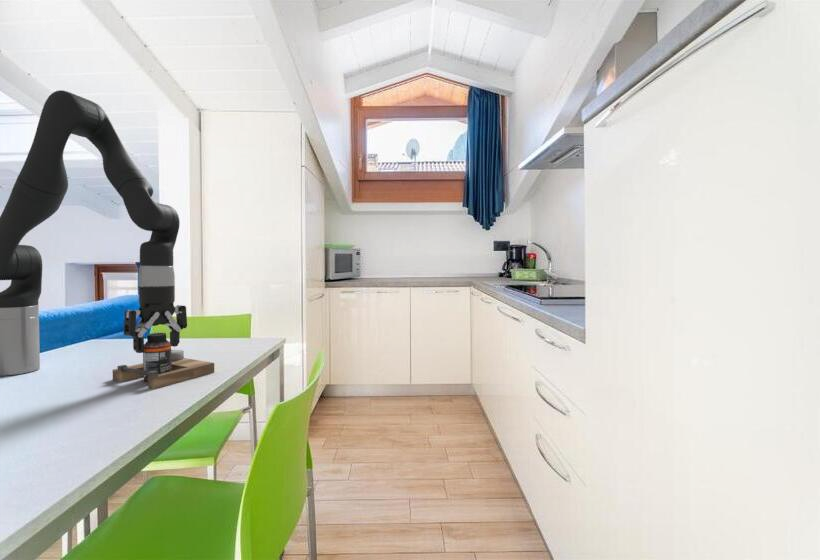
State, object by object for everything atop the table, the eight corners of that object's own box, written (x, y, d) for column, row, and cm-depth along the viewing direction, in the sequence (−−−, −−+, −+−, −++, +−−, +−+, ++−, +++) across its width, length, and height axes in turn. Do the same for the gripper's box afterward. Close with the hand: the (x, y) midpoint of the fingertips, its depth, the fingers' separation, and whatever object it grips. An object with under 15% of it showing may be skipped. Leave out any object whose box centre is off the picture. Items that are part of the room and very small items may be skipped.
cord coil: (165, 362, 105) (165, 355, 105) (160, 358, 109) (160, 351, 109) (186, 359, 109) (186, 352, 109) (180, 355, 112) (180, 348, 112)
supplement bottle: (155, 375, 102) (154, 331, 102) (177, 376, 102) (176, 332, 101) (137, 381, 96) (136, 335, 96) (160, 382, 96) (159, 336, 95)
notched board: (112, 379, 98) (111, 364, 98) (174, 365, 112) (174, 352, 112) (153, 388, 91) (152, 372, 91) (214, 372, 106) (214, 358, 105)
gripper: (174, 282, 106) (174, 342, 107) (116, 284, 93) (117, 353, 94) (193, 283, 103) (193, 345, 104) (136, 285, 90) (136, 356, 91)
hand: (157, 349), depth 99 cm, fingers open, 8 cm apart
